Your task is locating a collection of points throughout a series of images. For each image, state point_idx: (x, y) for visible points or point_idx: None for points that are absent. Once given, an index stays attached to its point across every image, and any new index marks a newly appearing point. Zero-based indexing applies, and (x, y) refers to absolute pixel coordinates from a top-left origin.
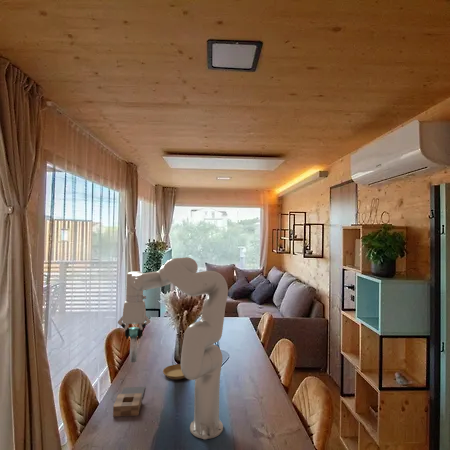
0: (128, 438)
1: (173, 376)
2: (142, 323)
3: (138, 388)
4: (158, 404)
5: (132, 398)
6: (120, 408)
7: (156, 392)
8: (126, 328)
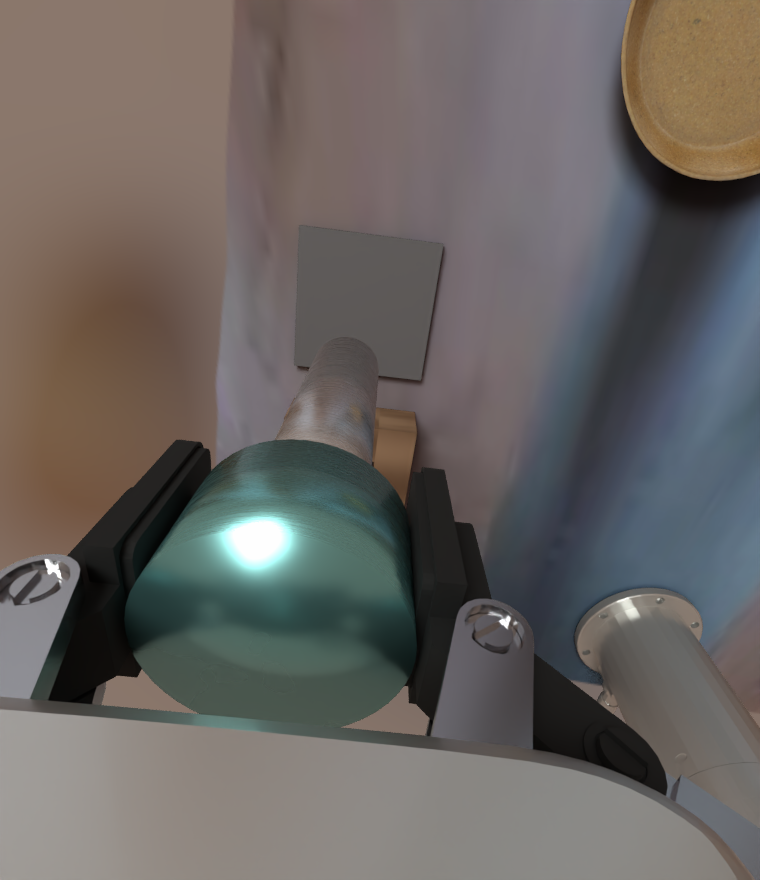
0: None
1: (677, 170)
2: (529, 743)
3: (399, 262)
4: (496, 448)
5: None
6: None
7: (506, 323)
8: (80, 695)
